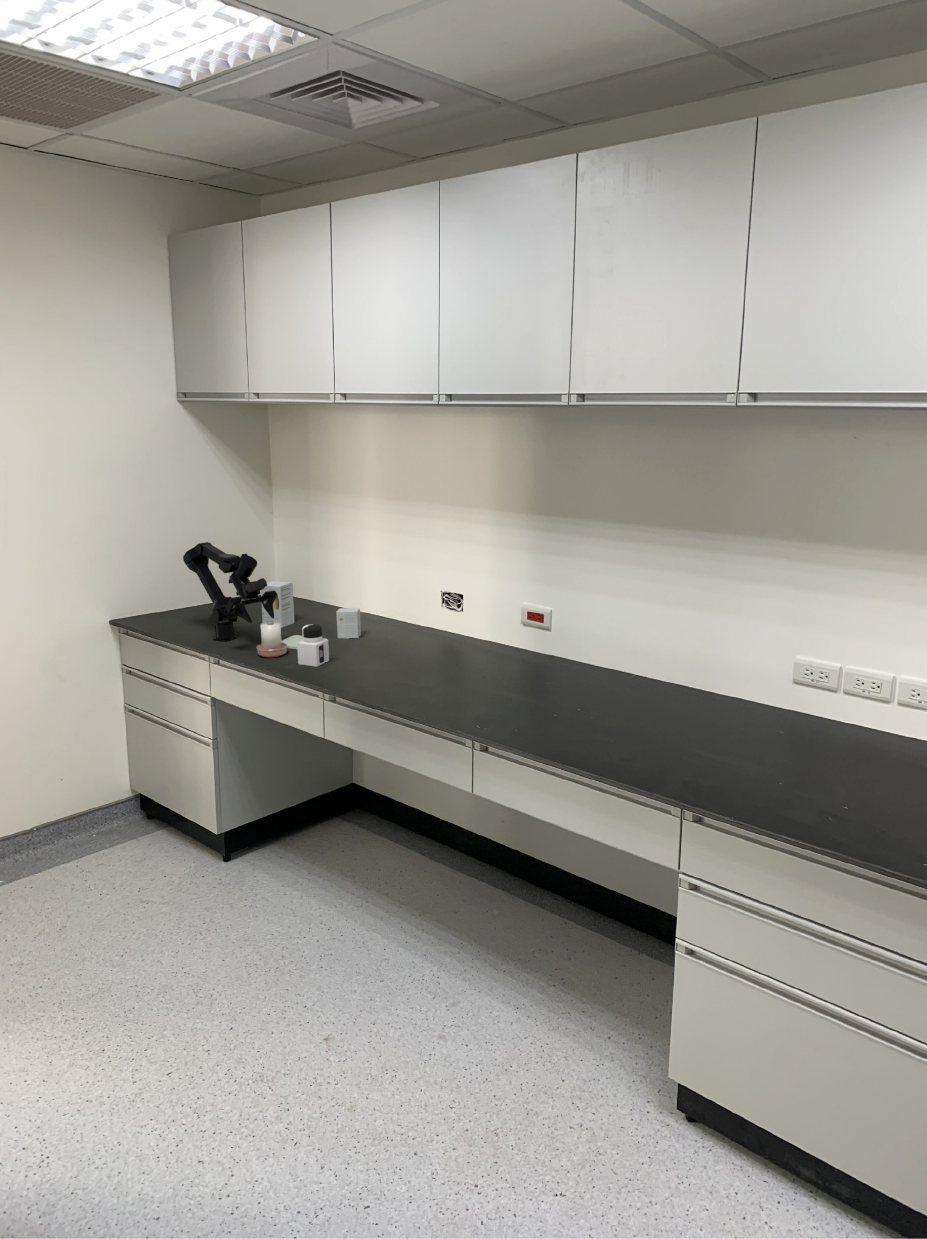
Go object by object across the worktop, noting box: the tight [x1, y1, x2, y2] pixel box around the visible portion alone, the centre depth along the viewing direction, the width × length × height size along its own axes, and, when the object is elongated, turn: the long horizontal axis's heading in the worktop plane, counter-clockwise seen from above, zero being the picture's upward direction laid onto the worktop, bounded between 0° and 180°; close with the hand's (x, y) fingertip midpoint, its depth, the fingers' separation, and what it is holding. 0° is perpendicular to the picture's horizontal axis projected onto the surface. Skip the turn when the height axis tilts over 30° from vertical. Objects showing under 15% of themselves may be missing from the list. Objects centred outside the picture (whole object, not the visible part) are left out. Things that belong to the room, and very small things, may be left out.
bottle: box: [260, 621, 282, 649], centre depth 308 cm, size 7×7×9 cm
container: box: [296, 623, 330, 668], centre depth 298 cm, size 8×8×13 cm
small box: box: [335, 607, 362, 639], centre depth 331 cm, size 8×6×10 cm
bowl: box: [256, 643, 288, 658], centre depth 310 cm, size 11×11×3 cm
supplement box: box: [260, 580, 295, 629], centre depth 350 cm, size 10×9×17 cm
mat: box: [281, 634, 327, 650], centre depth 324 cm, size 14×14×1 cm
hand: (262, 620), depth 310 cm, fingers open, 9 cm apart
